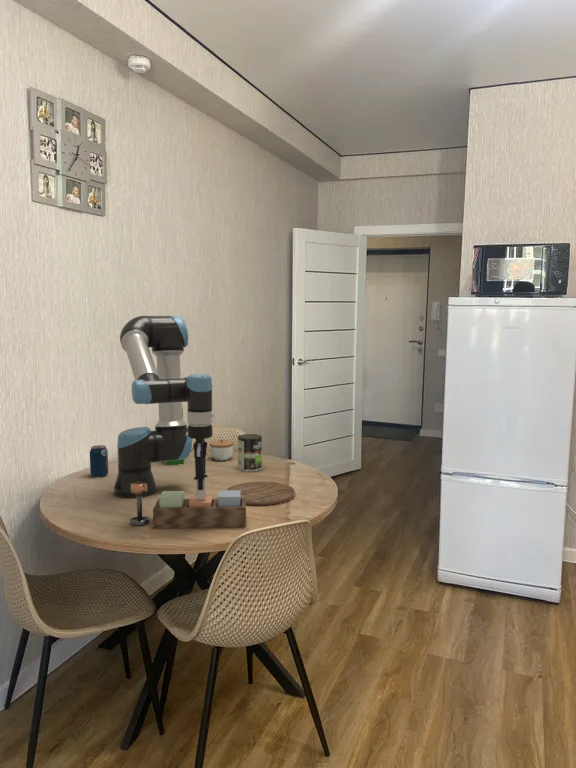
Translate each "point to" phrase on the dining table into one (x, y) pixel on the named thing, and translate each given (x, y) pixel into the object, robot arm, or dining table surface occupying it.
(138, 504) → the indicator lamp
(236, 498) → the slate button
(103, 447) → the soda can
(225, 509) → the button console
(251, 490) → the trivet
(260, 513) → the dining table surface
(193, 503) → the terracotta button
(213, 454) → the lidded jar
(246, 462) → the coffee can
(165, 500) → the sage button
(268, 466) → the dining table surface
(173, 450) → the robot arm
